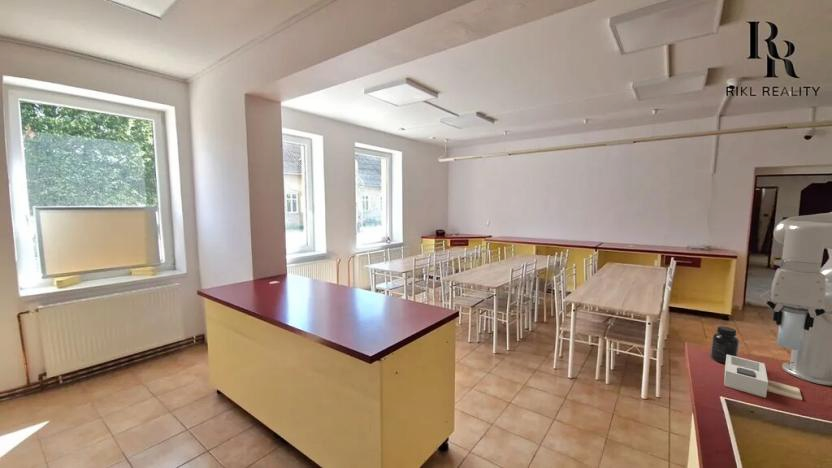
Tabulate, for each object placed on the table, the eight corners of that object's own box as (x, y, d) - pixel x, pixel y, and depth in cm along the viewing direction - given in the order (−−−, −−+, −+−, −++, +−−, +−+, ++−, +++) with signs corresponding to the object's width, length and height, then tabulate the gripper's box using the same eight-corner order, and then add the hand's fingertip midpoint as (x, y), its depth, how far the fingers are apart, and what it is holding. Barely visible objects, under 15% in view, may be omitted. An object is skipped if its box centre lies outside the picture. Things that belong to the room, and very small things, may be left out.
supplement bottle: (741, 366, 114) (745, 333, 113) (718, 364, 115) (722, 332, 114) (727, 356, 121) (731, 325, 119) (706, 354, 122) (709, 324, 121)
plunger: (737, 377, 104) (738, 367, 104) (752, 381, 102) (753, 371, 101) (737, 382, 102) (738, 371, 101) (753, 386, 99) (754, 375, 99)
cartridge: (775, 340, 102) (780, 303, 100) (800, 345, 98) (806, 307, 97) (777, 346, 98) (782, 308, 97) (803, 352, 95) (809, 312, 93)
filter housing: (724, 367, 113) (726, 354, 112) (762, 377, 107) (764, 363, 106) (724, 385, 103) (726, 370, 102) (765, 397, 97) (767, 382, 96)
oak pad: (765, 381, 105) (765, 379, 105) (798, 389, 100) (798, 388, 100) (767, 390, 100) (767, 389, 100) (802, 400, 95) (802, 398, 95)
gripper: (758, 264, 98) (751, 322, 101) (851, 273, 87) (840, 339, 89) (757, 260, 104) (750, 315, 106) (844, 268, 92) (834, 330, 94)
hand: (791, 325), depth 97 cm, fingers closed on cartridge, 5 cm apart
